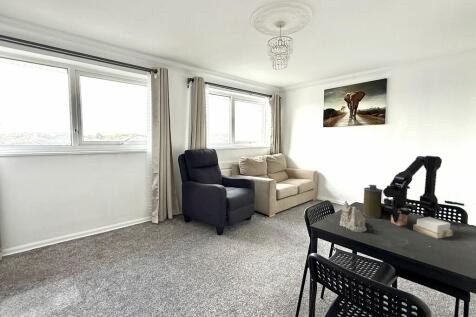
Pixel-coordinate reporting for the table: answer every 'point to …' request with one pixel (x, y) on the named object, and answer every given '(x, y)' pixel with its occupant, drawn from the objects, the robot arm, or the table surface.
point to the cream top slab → (433, 224)
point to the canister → (372, 202)
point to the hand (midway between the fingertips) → (398, 221)
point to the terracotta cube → (400, 220)
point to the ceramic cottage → (352, 218)
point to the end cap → (384, 210)
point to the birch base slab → (433, 232)
